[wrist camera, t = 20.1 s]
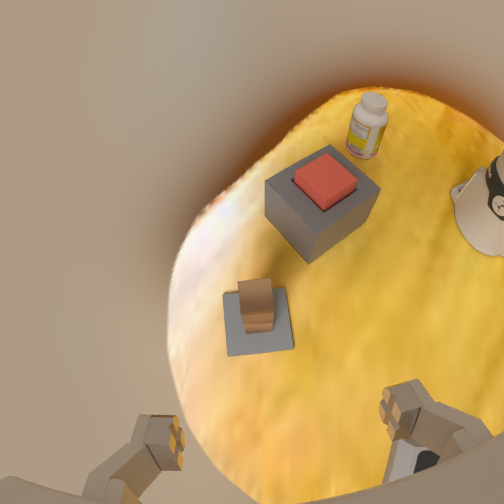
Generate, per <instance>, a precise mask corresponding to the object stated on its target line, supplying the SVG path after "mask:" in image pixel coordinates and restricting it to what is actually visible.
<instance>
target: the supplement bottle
mask: <svg viewBox="0 0 504 504" xmlns="http://www.w3.org/2000/svg"><path fill="white" fill-rule="evenodd" d="M386 107H387V100H386V99H385V98H384V97H383V96H381V95H380V94H377V93H374V92H366V93H364V94H363V95H362V99H361V102H360V103H358V104H357V105H356V106H355V107H354V110H353V114H352V119H351V123H350V127H349V131H348V136H347V140H346V147H347V149H348V151H349V152H350V153H351V154H352V155H354V156H356V157H358V158H361V159H370V158H372V157H374V156H375V155H376V154H377V151H378V148H379V146H380V143H381V140H382V137H383V134H384V131H385V128H386V125H387V122H388V114H387V112H386V111H385V110H386Z"/></svg>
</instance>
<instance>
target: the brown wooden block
mask: <svg viewBox="0 0 504 504" xmlns="http://www.w3.org/2000/svg"><path fill="white" fill-rule="evenodd" d="M238 291H239V302H240V312H241V317H242V321H243V325H244V329H245V333H246V335H247V334H256V333H265V332H272V328H273V320H274V311H275V307H274V300H273V293H272V285H271V278H264V279H255V280H246V281H238Z"/></svg>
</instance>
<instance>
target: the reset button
mask: <svg viewBox="0 0 504 504" xmlns="http://www.w3.org/2000/svg"><path fill="white" fill-rule="evenodd" d="M357 181H358V179H356V178H355V177H354V176H353V175H352V174H351V173H350V172H349V171H348V170H346V169H345V168H344V167H343V166H342V165H341V164H340V163H339V162H337V161H336V160H335V159H334V158H333V157H332V156H330V155H329V154H328V153H326V154H324V155H323V156H321V157H319V158H317V159H315V160H314V161H312V162H310V163H308V164H307V165H305V166H303V167H301V168H300V169H298V170H296V171H295V178H294V184H295V185H296V186H297V187H298V188H299V189H300V190H301V191H302V192H303V193H304V194H305V195H306V196H307V197H308V198H309V199H310V200H311V201H312V202H313V203H314V204H315V205H316V206H317V207H318V208H319V209H320V210H321V211H322V212H323V213H324V212H326V211H327V210H329V209H330V208H332V207H333V206H335V205H336V204H338V203H339V202H340V201H342V200H343V199H345V198H346V197H348V196H349V195H351V194H352V193H353V192H354V189H355V186H356V184H357Z"/></svg>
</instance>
